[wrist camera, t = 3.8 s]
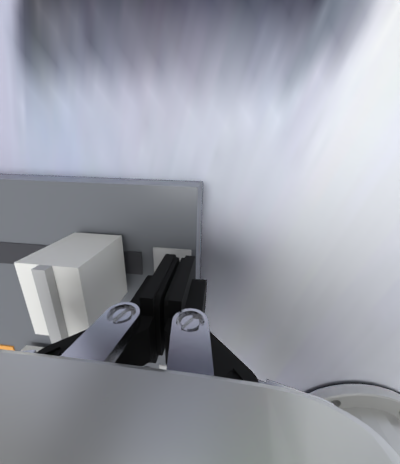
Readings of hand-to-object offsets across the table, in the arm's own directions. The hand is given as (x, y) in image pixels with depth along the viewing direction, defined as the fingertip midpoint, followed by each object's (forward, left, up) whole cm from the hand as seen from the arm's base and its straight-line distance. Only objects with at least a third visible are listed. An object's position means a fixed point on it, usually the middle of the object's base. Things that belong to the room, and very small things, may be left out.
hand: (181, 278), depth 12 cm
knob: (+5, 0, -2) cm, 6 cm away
